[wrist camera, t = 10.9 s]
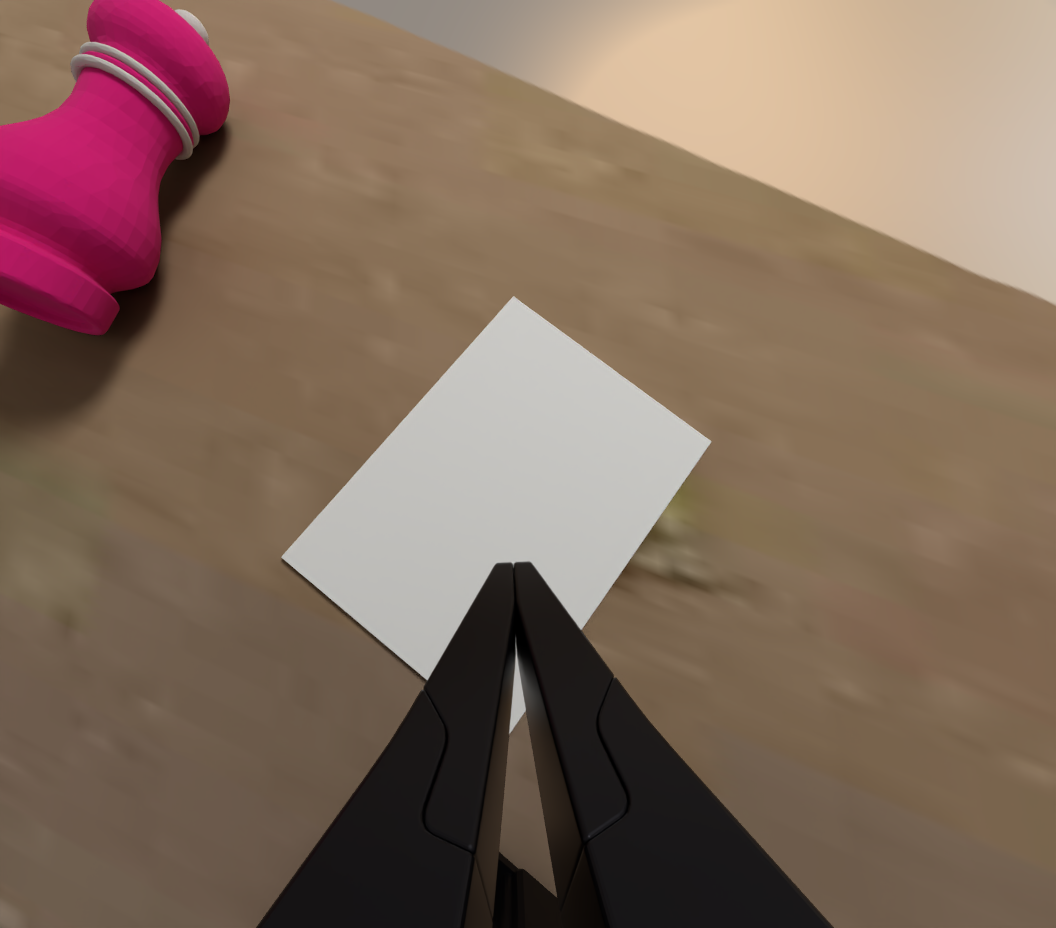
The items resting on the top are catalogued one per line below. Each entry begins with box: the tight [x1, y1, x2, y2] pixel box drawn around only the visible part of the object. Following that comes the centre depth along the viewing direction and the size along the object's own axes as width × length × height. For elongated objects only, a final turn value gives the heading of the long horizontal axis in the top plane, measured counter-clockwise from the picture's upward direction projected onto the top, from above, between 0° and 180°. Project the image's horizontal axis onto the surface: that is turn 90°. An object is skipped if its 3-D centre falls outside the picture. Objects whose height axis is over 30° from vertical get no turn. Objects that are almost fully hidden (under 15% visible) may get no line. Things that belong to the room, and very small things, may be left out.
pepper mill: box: [0, 0, 230, 335], centre depth 21 cm, size 7×7×20 cm
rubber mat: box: [281, 296, 711, 734], centre depth 22 cm, size 20×15×1 cm
